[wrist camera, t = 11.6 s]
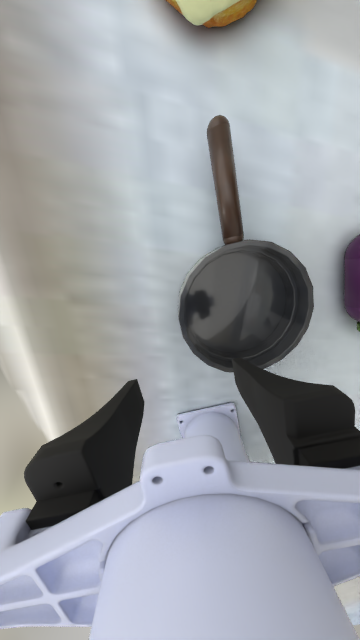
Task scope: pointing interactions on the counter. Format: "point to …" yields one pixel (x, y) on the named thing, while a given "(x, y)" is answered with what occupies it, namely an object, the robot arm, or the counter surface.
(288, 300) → the pan
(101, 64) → the counter surface
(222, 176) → the pan handle
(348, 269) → the eggplant
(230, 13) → the decorated donut
